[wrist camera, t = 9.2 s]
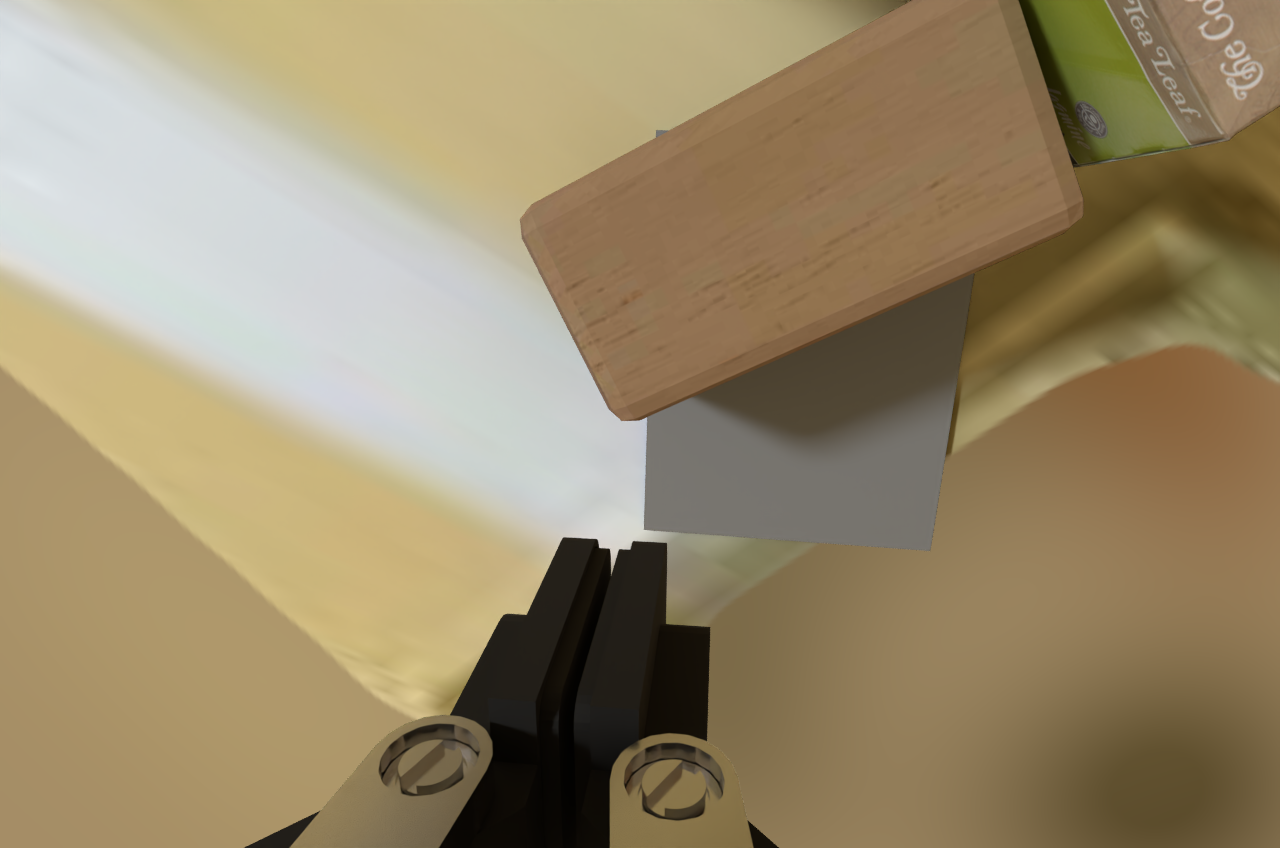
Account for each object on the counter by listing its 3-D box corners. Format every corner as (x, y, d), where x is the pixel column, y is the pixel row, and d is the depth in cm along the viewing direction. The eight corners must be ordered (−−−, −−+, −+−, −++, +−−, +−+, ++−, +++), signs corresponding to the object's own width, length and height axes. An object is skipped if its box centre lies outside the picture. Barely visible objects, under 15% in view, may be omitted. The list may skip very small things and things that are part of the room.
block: (641, 381, 40) (1003, 217, 36) (615, 436, 31) (1104, 221, 26) (559, 213, 38) (932, 16, 34) (503, 216, 29) (1013, -59, 24)
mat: (656, 131, 37) (656, 130, 36) (993, 137, 35) (996, 136, 35) (644, 526, 43) (643, 529, 43) (928, 547, 41) (930, 550, 41)
